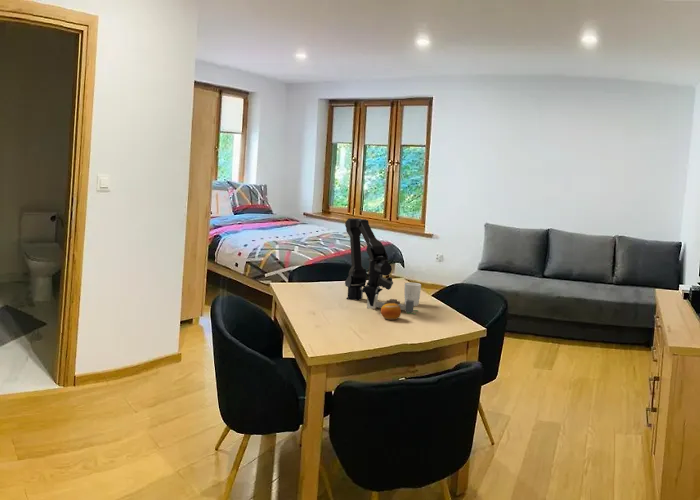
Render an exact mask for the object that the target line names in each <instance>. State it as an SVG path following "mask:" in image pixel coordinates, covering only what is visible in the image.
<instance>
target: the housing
mask: <svg viewBox="0 0 700 500" xmlns="http://www.w3.org/2000/svg"><path fill="white" fill-rule="evenodd" d="M388 303H395V304H397V305H398V304H401V301H400V300H399V301H398V299H395V298H390V299H389V300H388V299H387V300H386V301H385V303H384V305H385V304H388ZM416 312H419V310H417V309H413V312H412V313H410V312H406V314H408V315H409V314H411V315H416Z"/></svg>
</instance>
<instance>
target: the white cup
mask: <svg viewBox="0 0 700 500" xmlns="http://www.w3.org/2000/svg"><path fill="white" fill-rule="evenodd" d="M421 289H422V284H421V283H420V282H410V281H409V282H404V297H403V298H404V305H406V301H407V300H412V301H414V306H415V307H416V306H419V304H420V297H421V292H422V290H421Z"/></svg>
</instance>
